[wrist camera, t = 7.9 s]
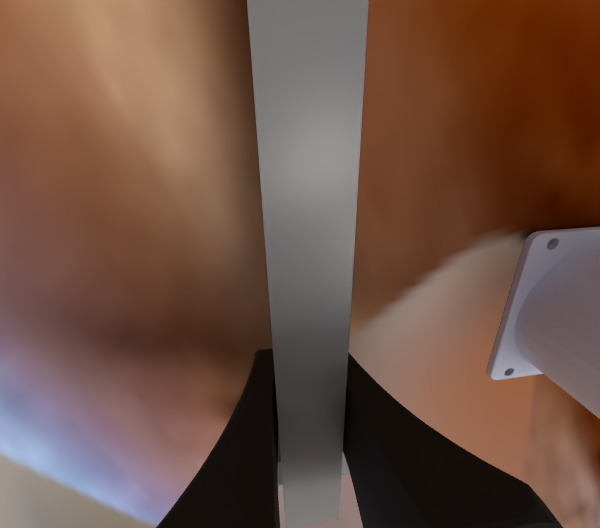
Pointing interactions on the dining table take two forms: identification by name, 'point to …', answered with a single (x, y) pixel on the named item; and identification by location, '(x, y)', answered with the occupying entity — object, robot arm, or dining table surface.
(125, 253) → the dining table surface
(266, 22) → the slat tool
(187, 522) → the robot arm
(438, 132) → the dining table surface
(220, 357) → the dining table surface
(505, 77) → the dining table surface
